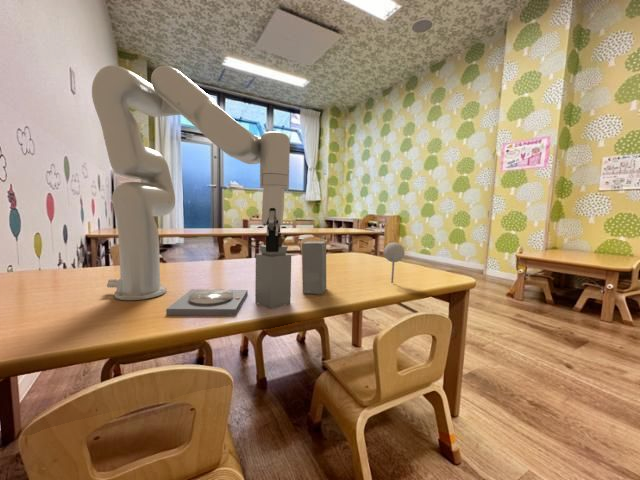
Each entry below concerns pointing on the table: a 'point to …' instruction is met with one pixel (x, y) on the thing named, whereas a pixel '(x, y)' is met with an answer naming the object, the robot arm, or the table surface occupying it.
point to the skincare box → (314, 267)
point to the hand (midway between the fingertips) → (273, 248)
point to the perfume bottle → (273, 277)
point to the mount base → (208, 302)
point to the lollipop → (393, 254)
